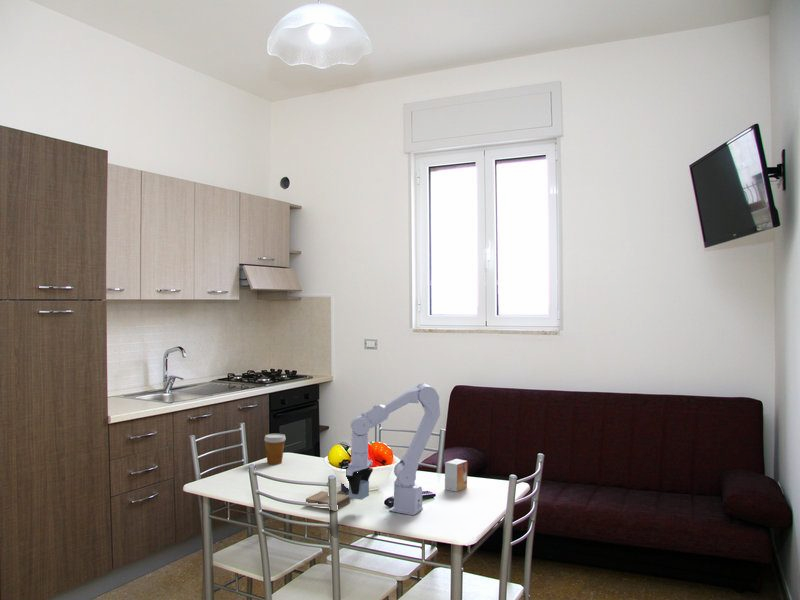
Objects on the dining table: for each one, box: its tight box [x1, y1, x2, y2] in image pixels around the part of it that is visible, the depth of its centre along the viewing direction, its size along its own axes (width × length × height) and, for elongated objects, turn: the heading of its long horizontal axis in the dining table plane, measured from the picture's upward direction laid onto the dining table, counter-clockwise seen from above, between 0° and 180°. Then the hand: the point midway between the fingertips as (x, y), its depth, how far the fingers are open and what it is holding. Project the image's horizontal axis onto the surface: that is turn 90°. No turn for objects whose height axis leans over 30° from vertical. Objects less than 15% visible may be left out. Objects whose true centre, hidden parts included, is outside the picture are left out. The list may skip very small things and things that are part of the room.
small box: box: [444, 458, 468, 492], centre depth 239 cm, size 8×6×10 cm
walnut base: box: [305, 490, 351, 511], centre depth 217 cm, size 12×10×2 cm
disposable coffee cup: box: [263, 433, 287, 466], centre depth 272 cm, size 10×10×12 cm
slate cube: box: [348, 480, 370, 501], centre depth 211 cm, size 5×5×5 cm
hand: (359, 491), depth 211 cm, fingers closed on slate cube, 5 cm apart
